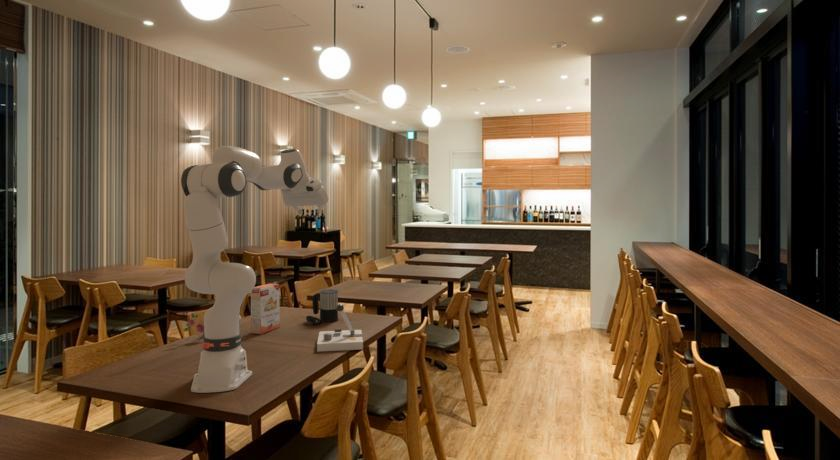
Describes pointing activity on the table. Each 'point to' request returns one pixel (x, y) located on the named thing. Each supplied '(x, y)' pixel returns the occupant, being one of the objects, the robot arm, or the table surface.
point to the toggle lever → (345, 318)
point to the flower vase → (200, 324)
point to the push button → (327, 336)
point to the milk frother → (325, 307)
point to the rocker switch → (337, 330)
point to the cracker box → (265, 308)
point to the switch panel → (340, 341)
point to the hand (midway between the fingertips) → (310, 213)
